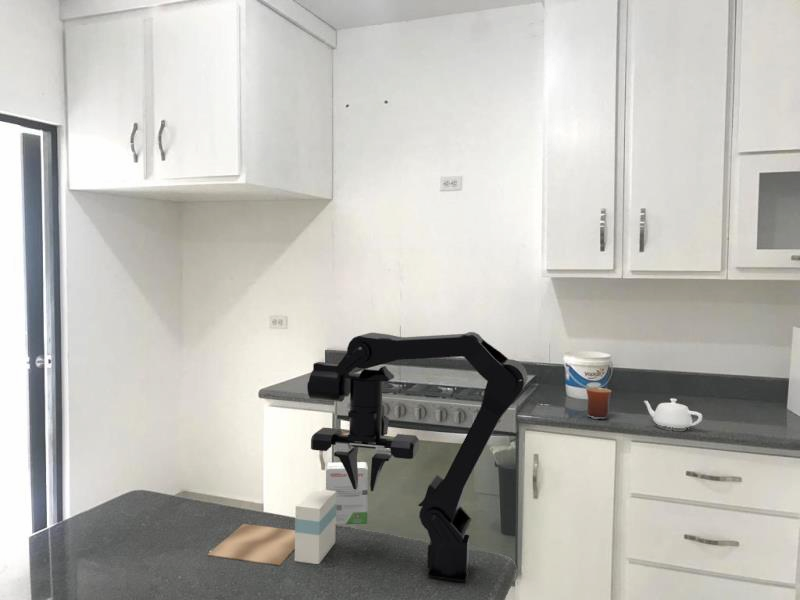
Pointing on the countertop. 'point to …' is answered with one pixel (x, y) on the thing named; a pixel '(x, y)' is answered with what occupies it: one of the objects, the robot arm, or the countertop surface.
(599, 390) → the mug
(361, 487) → the ink box
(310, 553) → the carton
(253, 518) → the countertop surface
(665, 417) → the teapot
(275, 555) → the board
